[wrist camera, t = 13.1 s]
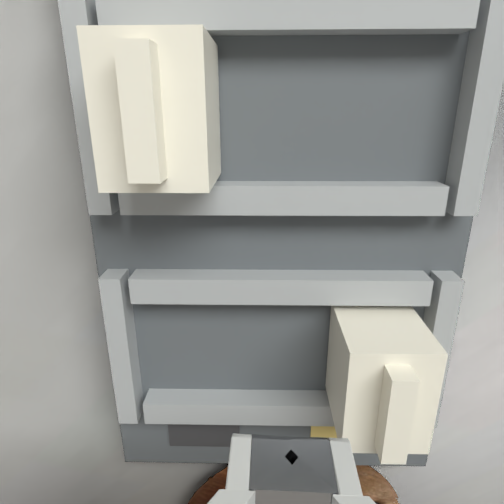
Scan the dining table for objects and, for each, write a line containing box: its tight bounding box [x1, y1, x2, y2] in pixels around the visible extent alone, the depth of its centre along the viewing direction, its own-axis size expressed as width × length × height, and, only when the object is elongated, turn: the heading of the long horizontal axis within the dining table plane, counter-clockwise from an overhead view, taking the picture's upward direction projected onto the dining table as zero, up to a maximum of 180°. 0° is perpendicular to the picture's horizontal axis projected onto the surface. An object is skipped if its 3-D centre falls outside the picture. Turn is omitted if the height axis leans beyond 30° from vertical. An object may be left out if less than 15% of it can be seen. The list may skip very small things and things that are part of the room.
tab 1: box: [76, 24, 221, 193], centre depth 11 cm, size 3×4×4 cm
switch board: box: [57, 0, 504, 466], centre depth 15 cm, size 22×14×2 cm, turn 0°
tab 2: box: [325, 306, 448, 465], centre depth 14 cm, size 3×4×4 cm
